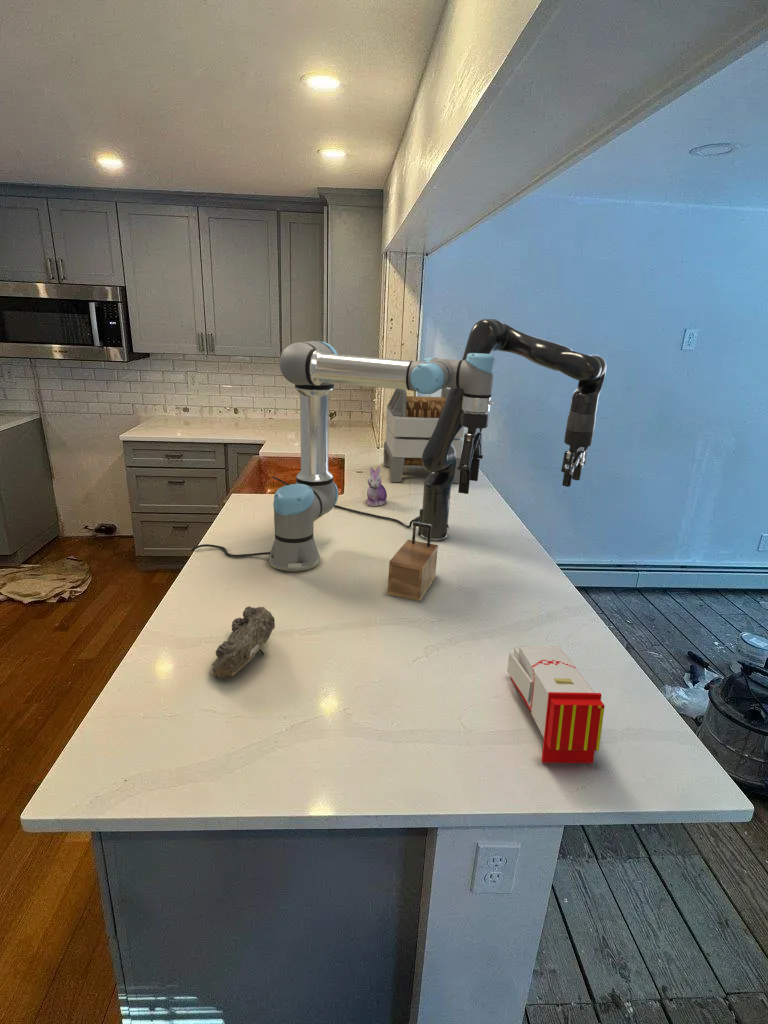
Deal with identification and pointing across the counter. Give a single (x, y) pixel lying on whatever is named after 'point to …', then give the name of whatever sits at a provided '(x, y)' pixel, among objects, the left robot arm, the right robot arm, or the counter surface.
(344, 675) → the counter surface
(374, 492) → the figurine
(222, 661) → the fossil
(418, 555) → the lid
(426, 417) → the transformer
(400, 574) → the chest
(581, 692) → the toy
